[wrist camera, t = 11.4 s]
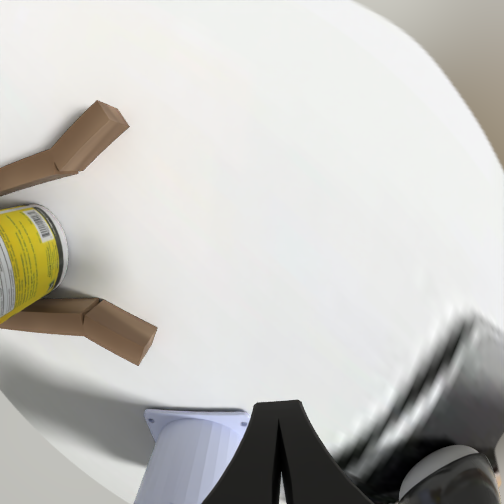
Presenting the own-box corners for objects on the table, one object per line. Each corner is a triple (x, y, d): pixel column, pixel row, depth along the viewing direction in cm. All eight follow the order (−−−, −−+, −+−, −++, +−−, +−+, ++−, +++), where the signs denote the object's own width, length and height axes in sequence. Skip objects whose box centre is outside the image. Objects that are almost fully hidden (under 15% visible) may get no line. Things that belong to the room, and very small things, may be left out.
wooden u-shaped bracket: (161, 345, 18) (149, 366, 16) (9, 334, 19) (-8, 347, 17) (128, 105, 15) (109, 96, 13) (-24, 163, 16) (-45, 164, 13)
